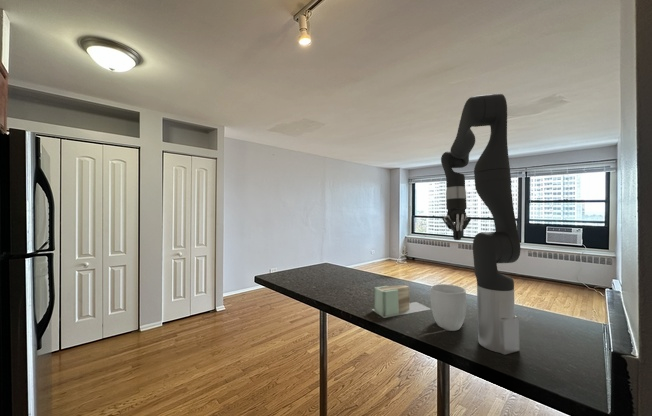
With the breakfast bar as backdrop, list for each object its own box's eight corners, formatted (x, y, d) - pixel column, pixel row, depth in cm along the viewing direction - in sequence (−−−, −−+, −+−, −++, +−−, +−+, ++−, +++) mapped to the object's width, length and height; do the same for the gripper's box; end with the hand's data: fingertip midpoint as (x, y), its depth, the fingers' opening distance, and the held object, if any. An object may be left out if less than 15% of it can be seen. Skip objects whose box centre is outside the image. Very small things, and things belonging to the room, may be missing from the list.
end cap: (398, 313, 100) (398, 290, 101) (383, 316, 98) (383, 292, 98) (388, 307, 107) (388, 285, 107) (374, 310, 104) (374, 287, 105)
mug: (451, 315, 99) (450, 280, 99) (480, 326, 90) (479, 288, 90) (424, 324, 92) (423, 287, 92) (453, 337, 82) (452, 295, 83)
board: (431, 310, 104) (431, 309, 104) (383, 319, 97) (383, 317, 97) (416, 303, 113) (416, 301, 113) (371, 310, 105) (371, 309, 105)
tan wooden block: (409, 309, 104) (409, 286, 104) (383, 314, 100) (382, 290, 100) (404, 306, 108) (403, 284, 108) (378, 310, 103) (378, 288, 104)
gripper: (449, 196, 104) (450, 240, 103) (476, 197, 108) (477, 240, 107) (436, 198, 112) (437, 239, 110) (462, 199, 115) (463, 239, 114)
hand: (457, 239), depth 109 cm, fingers closed
